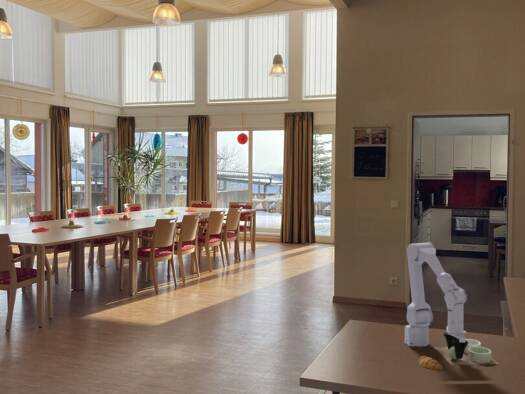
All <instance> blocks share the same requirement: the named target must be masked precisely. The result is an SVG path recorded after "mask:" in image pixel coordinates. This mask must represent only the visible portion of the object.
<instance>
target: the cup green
mask: <svg viewBox="0 0 525 394" xmlns="http://www.w3.org/2000/svg"><path fill="white" fill-rule="evenodd" d="M491 358H492V350H491V349H489V348H487V347H485V346H484V347H483V346H481V347H469V348H468V359H469V360H471V361H474V362H479V363H488V362H491Z"/></svg>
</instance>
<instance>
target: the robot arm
mask: <svg viewBox="0 0 525 394" xmlns="http://www.w3.org/2000/svg"><path fill="white" fill-rule="evenodd" d="M436 253H437V249H436V248H435V245H434V244H433V243H432V242H430V241H427V242H419V243H418V242H416V243H410V244H409V245H408V246H407V248H406V256H407V265H408V267H407V268H408V274H409V286H410V294H411V303H410V304H409V305H408V306H407V307H406V309H407V311H406V322H407V323H408V325H405V326H404V342H403V343H404V344H406V345H407V346H408V347H427V346H429V326H430V325H431V323H432V322H433V319H434V316H433V315H434V314H433V312H432V309H431V305H430V304H428V303H427V302H426V297H425V296H426V295H425V288H424V287H425V286H424V276H423V267H422V265H423V264H424V262H425V263H427V264H428V266H429V267H430V269H431V270H432V272H433V273H434V274H435V276H436V282H437V284H438V285H439V287H440V289H441V291H442V292H443V293H444V296H443V297H444V301H445V304H446V310H447V326H446V327H445V328H446V329H445V331H446V332H443V336H444V338H445V342H446V345H447V346H446V347H448V350H449V349H450V348H451V347H453V346H454V348H455V355H456V358H457V359H462V357H463V354H464V350H465V348H466V346H467V345H468V341H465V339H466V336H465V335H466V334H467V331H466V330H464V304H466V302H467V300H468V295H467V292H466V291H465V289H463V288H462V287H460V286H458V285H457V283H456V281H455V280H454V278H453V277H452V275H451V274H450V273H447V272H446V271H445V270H444V268H443V266H442V265H441V263H440V262H441V261H440V260H439V259H438V256H437V255H436Z"/></svg>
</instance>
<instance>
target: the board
mask: <svg viewBox="0 0 525 394" xmlns="http://www.w3.org/2000/svg"><path fill="white" fill-rule="evenodd" d="M433 348H434V349H435V351H437V352H438V353H439V354H440V355H441V356H442V357H443V358H444V359H445V360H446V361H447V362H448V363H449V364H450V365H451V366H455V365H456V366H457V365H459V366H460V365H463V366H464V365H466V366H469V365H472V366H473V365H499V363H498V362H497V361H496V360H495V359H493V358H492V357H491V362H488V363H479V362H474V361H471V360H469V359H468V354H467V353H464V354H463V357H462V359H458V360H454V359H452V358H451V357H450V356H449V353H448V351H449V350H448V346H445V347H444V346H440V347H439V346H438V347H433Z"/></svg>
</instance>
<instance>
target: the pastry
mask: <svg viewBox="0 0 525 394" xmlns="http://www.w3.org/2000/svg"><path fill="white" fill-rule="evenodd" d="M417 365H418V366H420V367H422V368H426V369H430V370H433V371H442V370H443V369H444V366H443V365H442V363H440V362H439V361H438V360H436V359H435V358H432V357H429V356H426V355H423V356H421V357H419V359H418V361H417Z"/></svg>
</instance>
